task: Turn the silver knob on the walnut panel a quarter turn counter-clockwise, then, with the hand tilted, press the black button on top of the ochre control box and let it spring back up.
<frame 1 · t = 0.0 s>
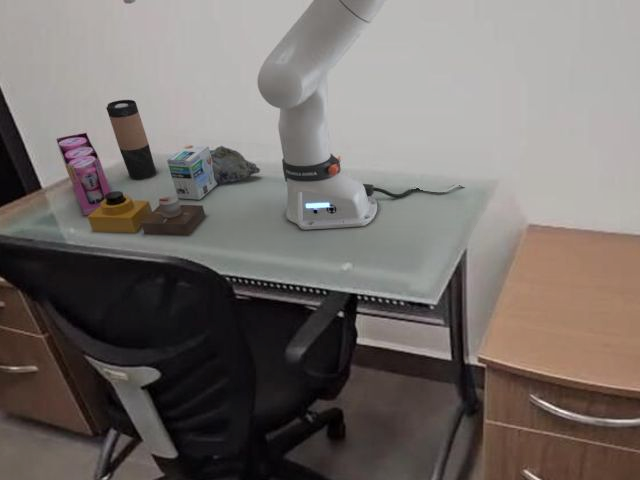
mineral rock: (233, 182, 168), on the table, touching light bulb box
button: (115, 198, 146), point 7 cm above the table, slide at 0.1 cm
gum box: (95, 197, 163), on the table
dial panel: (175, 225, 148), on the table
travel mug: (143, 175, 174), on the table
knob: (170, 206, 145), point 5 cm above the table, hinge at 0.0°
light bulb box: (198, 191, 163), on the table, touching mineral rock
control box: (123, 223, 150), on the table
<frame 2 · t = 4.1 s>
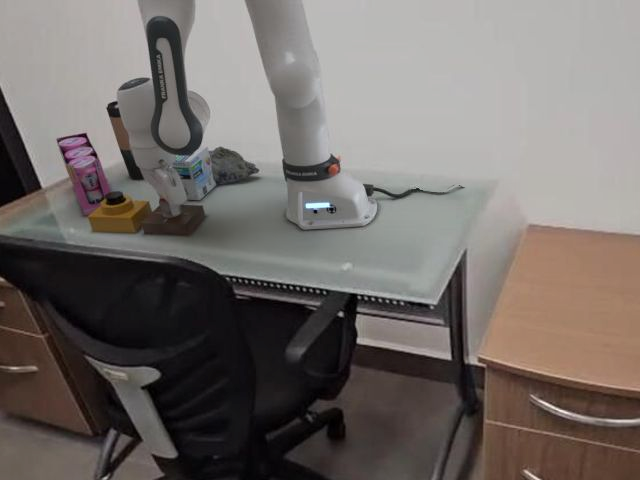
hand: (171, 210, 146), 4 cm above the table, tool pointing down, fingers closed on knob, 4 cm apart
knob: (170, 206, 145), point 5 cm above the table, hinge at 0.1°, touching gripper
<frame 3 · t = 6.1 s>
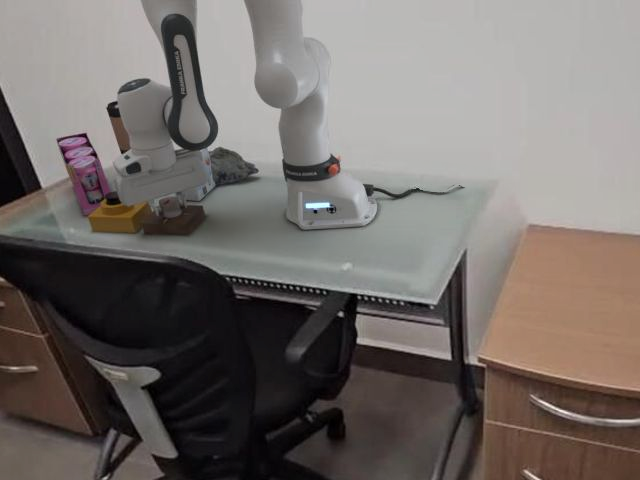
hand: (171, 211, 146), 4 cm above the table, tool pointing down, fingers closed on knob, 4 cm apart
knob: (170, 206, 145), point 5 cm above the table, hinge at 92.6°, touching gripper
everything else where it was.
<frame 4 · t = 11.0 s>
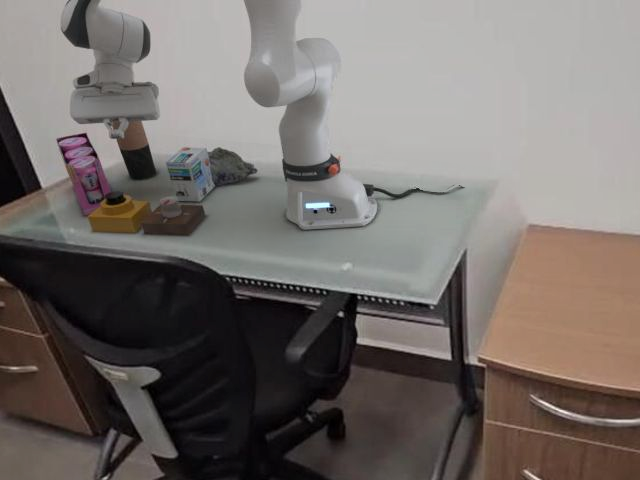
hand: (116, 137, 148), 18 cm above the table, tool tilted 40°, fingers closed
knob: (170, 206, 145), point 5 cm above the table, hinge at 92.5°
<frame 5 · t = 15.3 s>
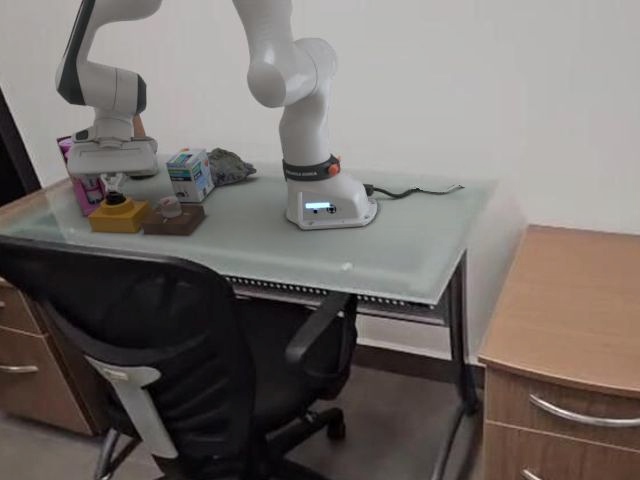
hand: (113, 193, 145), 8 cm above the table, tool tilted 45°, fingers closed, pressing on button
mineral rock: (229, 183, 168), on the table, touching light bulb box
button: (115, 199, 146), point 6 cm above the table, slide at -0.2 cm, touching gripper
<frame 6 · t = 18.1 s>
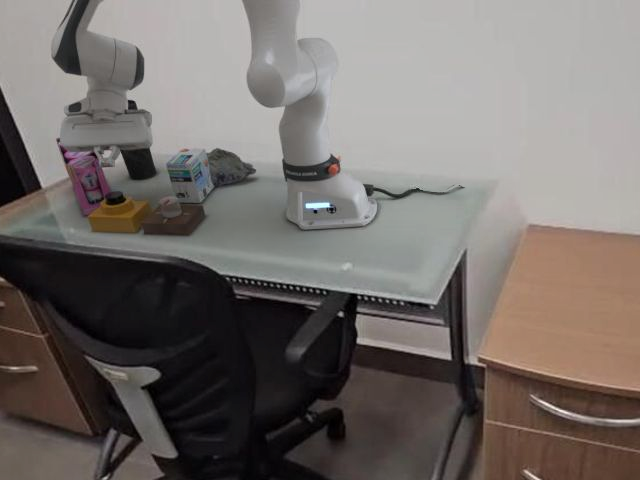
hand: (106, 166, 142), 14 cm above the table, tool tilted 45°, fingers closed
mineral rock: (229, 184, 167), on the table, touching light bulb box
button: (115, 198, 146), point 7 cm above the table, slide at 0.1 cm
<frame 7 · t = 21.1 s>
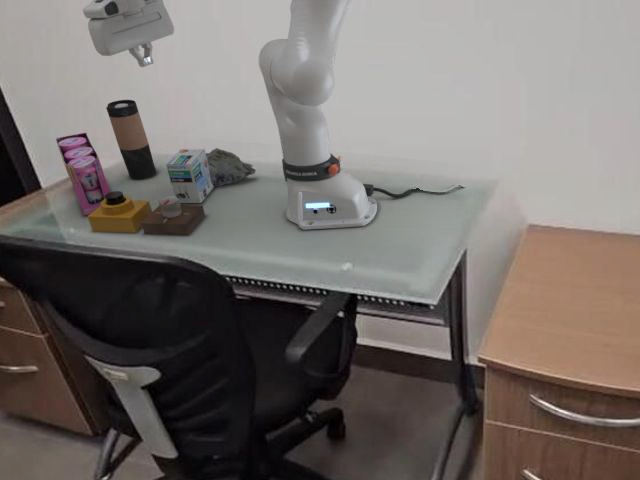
hand: (146, 65, 145), 32 cm above the table, tool pointing down, fingers closed
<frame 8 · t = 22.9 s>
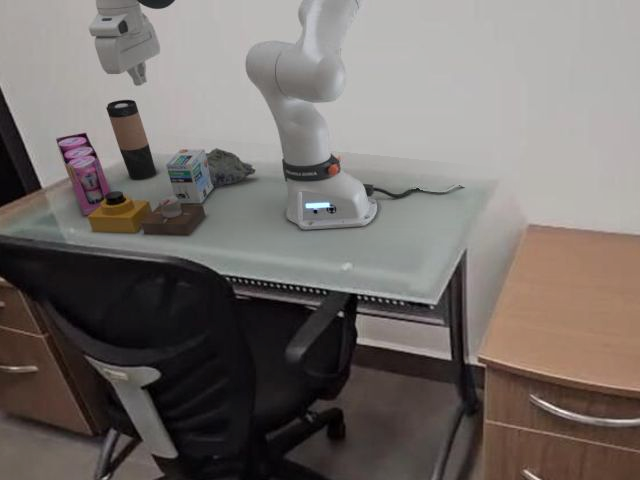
hand: (141, 83, 144), 29 cm above the table, tool pointing down, fingers closed
at the end: knob at +92° (first picture: +0°); button pushed in 1.2 cm at the most during the clip, back to where it started at the end; button slide at 0.1 cm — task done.
